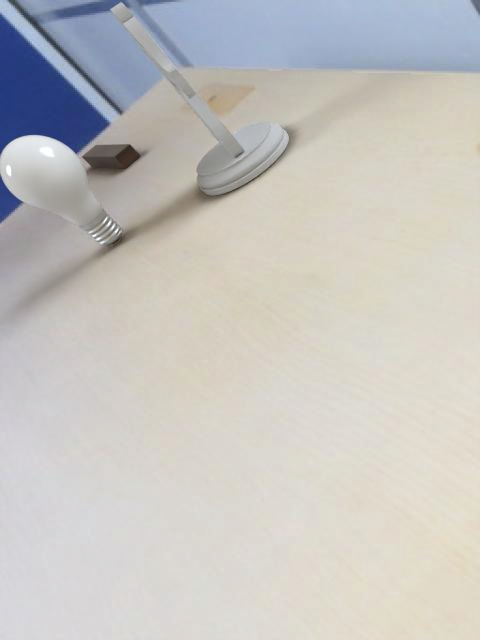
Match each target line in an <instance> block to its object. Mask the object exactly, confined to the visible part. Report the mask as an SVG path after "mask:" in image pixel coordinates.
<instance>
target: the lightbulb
mask: <svg viewBox="0 0 480 640" xmlns="http://www.w3.org/2000/svg"><path fill="white" fill-rule="evenodd" d="M0 178H1V180H2V182H3V184H4V185H5V187H6V188H7V189H8V190H9V192H10V193H11V194H12V195H13V196H14V197H16V199H18V200H20V201H21V202H22V203H24V204H26V205H28V206H30V207H32V208H35V209H37V210H41V211H44V212H48V213H52V214H54V215H56V216H59V217H60V218H63V219H64V220H66V221H67V222H69V223H70V224H72V225H74V226H78V227H79V228H80V229H81V230H82V231H84V232H86V235H89V236H90V238H91V239H93V240H94V242H97V244H98V246H100V247H105V246H115V245H116V244H118V243H119V242H121V239H122V235H123V230H124V229H123V227H122V226H121V224H119V223H118V222H117V221H116V220H114V218H113V217H112V216H110V214H109V213H107V211H106V210H105V209H104V208H103V207H102V204H101V202H100V200H99V199H98V198H97V196H96V194H95V193H94V192H93V190H92V187H91V183H90V181H89V177H88V173H87V171H86V168H85V165H84V163H83V161H82V160H81V158H80V156H79V155H78V154H77V153H76V152H75V151H74V150H73V149H72V148H70V147H69V146H68V145H66V144H65V143H64V142H62V141H60V140H58V139H55V138H52V137H49V136H45V135H41V134H39V135H38V134H29V135H22V136H20V137H17V138H15V139H13V140H12V141H10V142H9V143H8V144H7V145H5V146H4V148H3V149H2V151H1V153H0Z"/></svg>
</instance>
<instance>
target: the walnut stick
mask: <svg viewBox="0 0 480 640" xmlns="http://www.w3.org/2000/svg"><path fill="white" fill-rule="evenodd" d="M140 157H141V154H140V153H139V152H138V151H137V150H136V149H135V148H134V147H133V146H132V145H131V143H122V144H121V143H117V144H115V143H113V144H95V145H93V146H92V148H90V149H89V150H88V151H87V152H85V153H84V154H83V155H82V156H81V158H82V159H83V160H84V161H85V162H86V163H87V164H88V165H89V166H90V167H91V168H93V169H94V168H95V169H96V168H97V169H103V168H104V169H127V168H128V167H129V166H131V165H132V164H133V163H134V162H135V161H137V160H138V159H139V158H140Z"/></svg>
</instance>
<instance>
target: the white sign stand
mask: <svg viewBox="0 0 480 640" xmlns="http://www.w3.org/2000/svg"><path fill="white" fill-rule="evenodd" d="M109 10H110V11H111V13H112V14H113V16H114V18H116V19H117V21H118V22H119V23H120V25H121V26H122V27H123V28H124V29H125V31H126V32H127V34H128V35H129V36H130V37H131V39H133V41H134V42H135V43H136V44H137V46H138V47H139V48H140V50H142V52H143V53H144V54H145V56H147V58H148V59H149V60H150V61H151V63H152V64H153V65H154V66H155V68H156V69H157V70H158V71H159V72H160V73H161V74H162V76H163V77H164V78H165V79H166V80H167V82H168V83H169V84H170V85H171V87H172V88H173V89H174V90H175V91H176V92H177V94H178V95H179V96H180V97H181V98H182V99H183V101H184V102H185V104H187V105H188V106H189V109H191V110H192V112H193V113H194V114H195V115H196V117H197V118H198V119H199V120H200V122H201V123H202V124H203V126H205V128H207V130H208V132H210V133H211V135H212V136H213V137H214V138H215V140H216V141H217V143H216V144H215V145H213V147H211V148H210V150H208V151H207V152H206V153H205V155H204V156H203V157H202V158H201V159H200V160H199V162H198V164H197V166H196V170H195V171H196V174H197V175H196V183H197V185H198V186H199V188H200V190H201V191H202V192H203V193H204V194H205V195H207V196H220V195H224V194H227V193H229V192H232V191H234V190H236V189H238V188H240V187H242V186H244V185H246V184H247V183H250V182H251V181H252V180H254V179H256V178H257V177H258V176H259V175H261V174H262V173H264V172H265V171H266V170H267V169H268V168H270V167H271V166H272V165H273V164H274V163H275V162H276V161H277V160H278V159H279V158H280V157H281V155H282V154H283V153H284V152H285V150H286V149H287V147H288V145H289V142H290V137H289V134H288V133H287V131H286V130H285V129H284V128H282V126H281V125H279V124H277V123H270V121H268V120H260V121H255V122H252V123H249V124H247V125H245V126H243V127H240V128H239V129H237V130H235V131H233V132H230V130H229V129H228V128H227V127H226V125H225V124H224V123H223V122H222V120H221V119H220V118H219V117H218V116H217V115H216V113H215V112H214V111H213V110H212V109H211V108H210V106H209V105H208V104H207V103H206V102H205V101H204V99H203V98H202V97H201V96H200V94H198V92H197V91H196V90H195V89H194V87H192V85H191V84H190V83H189V82H188V81H187V80H186V78H185V77H184V76H183V75H182V73H181V72H180V71H179V69H178V68H177V67H176V66H175V64H174V63H173V62H172V61H171V60H170V58H169V57H168V56H167V55H166V53H165V52H164V50H162V48H161V47H160V46H159V44H158V43H157V42H156V40H155V39H154V38H153V37H152V35H151V34H150V33H149V32H148V30H147V29H146V28H145V27H144V25H143V24H141V22H140V21H139V20H138V19H137V18H136V16H134V14H133V13H132V12H131V10H129V8H128V7H127V6H126V5H125V4H124V3H123V2H122V1H120V2H118V4H116V5H114V6H113V7H111V8H110V9H109Z"/></svg>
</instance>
